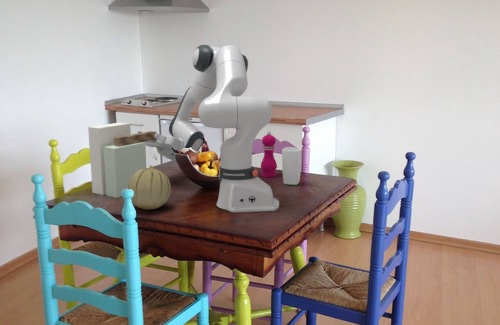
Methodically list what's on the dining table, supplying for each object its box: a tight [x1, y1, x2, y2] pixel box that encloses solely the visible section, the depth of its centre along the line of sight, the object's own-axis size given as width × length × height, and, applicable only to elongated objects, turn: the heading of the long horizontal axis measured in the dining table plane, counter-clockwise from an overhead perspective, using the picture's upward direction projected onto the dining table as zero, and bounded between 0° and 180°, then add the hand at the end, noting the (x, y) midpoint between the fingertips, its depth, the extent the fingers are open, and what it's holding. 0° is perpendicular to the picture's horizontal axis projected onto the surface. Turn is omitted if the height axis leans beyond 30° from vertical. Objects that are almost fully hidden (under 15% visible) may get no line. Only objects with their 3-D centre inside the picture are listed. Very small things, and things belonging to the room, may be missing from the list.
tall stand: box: [87, 122, 132, 196], centre depth 211 cm, size 16×6×26 cm, turn 146°
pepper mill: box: [260, 131, 278, 179], centre depth 233 cm, size 7×7×20 cm
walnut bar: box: [114, 130, 157, 147], centre depth 210 cm, size 20×3×3 cm, turn 146°
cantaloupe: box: [128, 165, 172, 211], centre depth 186 cm, size 15×15×15 cm
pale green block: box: [103, 142, 147, 199], centre depth 207 cm, size 16×6×19 cm, turn 146°
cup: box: [281, 146, 303, 186], centre depth 220 cm, size 7×7×15 cm
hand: (146, 134), depth 214 cm, fingers open, 8 cm apart
